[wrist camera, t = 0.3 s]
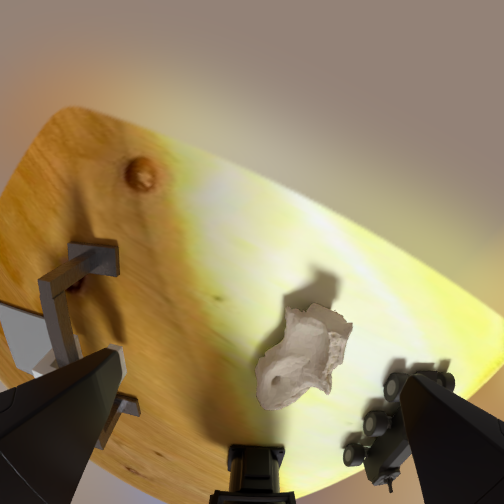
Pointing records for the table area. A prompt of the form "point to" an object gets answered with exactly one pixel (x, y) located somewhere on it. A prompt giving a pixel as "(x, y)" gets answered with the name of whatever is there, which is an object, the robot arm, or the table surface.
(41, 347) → the mat
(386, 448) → the toy vehicle
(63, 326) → the stand
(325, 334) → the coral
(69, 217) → the table surface
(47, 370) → the c link
